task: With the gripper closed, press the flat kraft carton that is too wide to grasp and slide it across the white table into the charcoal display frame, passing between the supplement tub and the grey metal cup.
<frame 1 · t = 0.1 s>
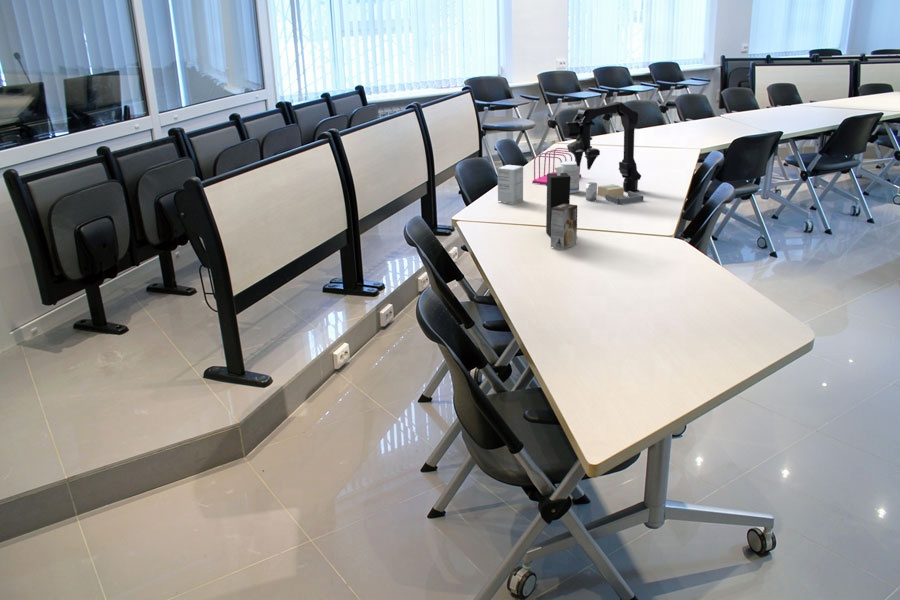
hand: (583, 167, 350), 15 cm above the table, tool pointing down, fingers open, 9 cm apart
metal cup: (591, 199, 350), on the table
display frame: (624, 200, 348), on the table
supplement tub: (569, 192, 368), on the table
tall black pillar: (557, 235, 298), on the table
supplement box: (510, 201, 353), on the table
file sorter: (557, 181, 393), on the table
coffee box: (563, 246, 283), on the table
carton: (610, 196, 358), on the table
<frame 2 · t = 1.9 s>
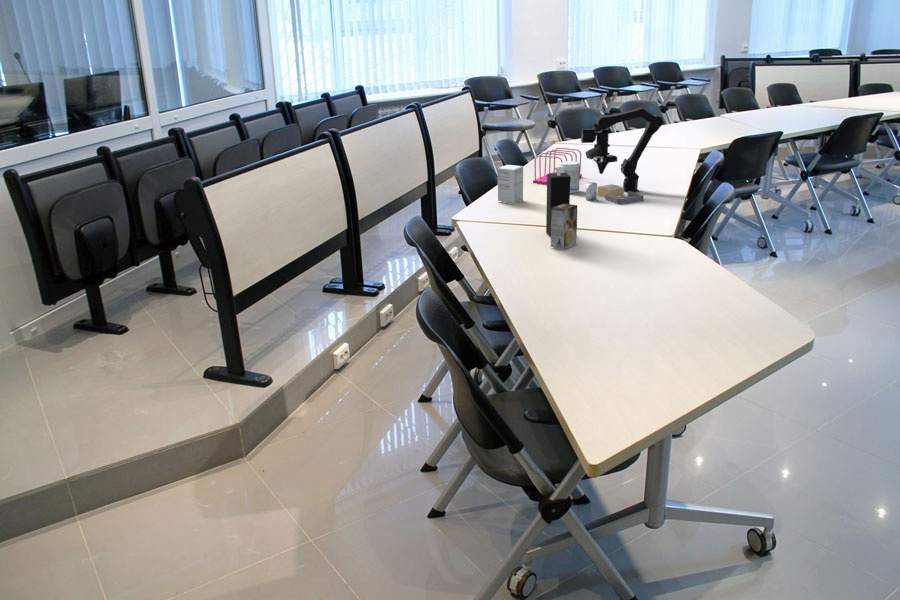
hand: (601, 173, 362), 9 cm above the table, tool pointing down, fingers closed
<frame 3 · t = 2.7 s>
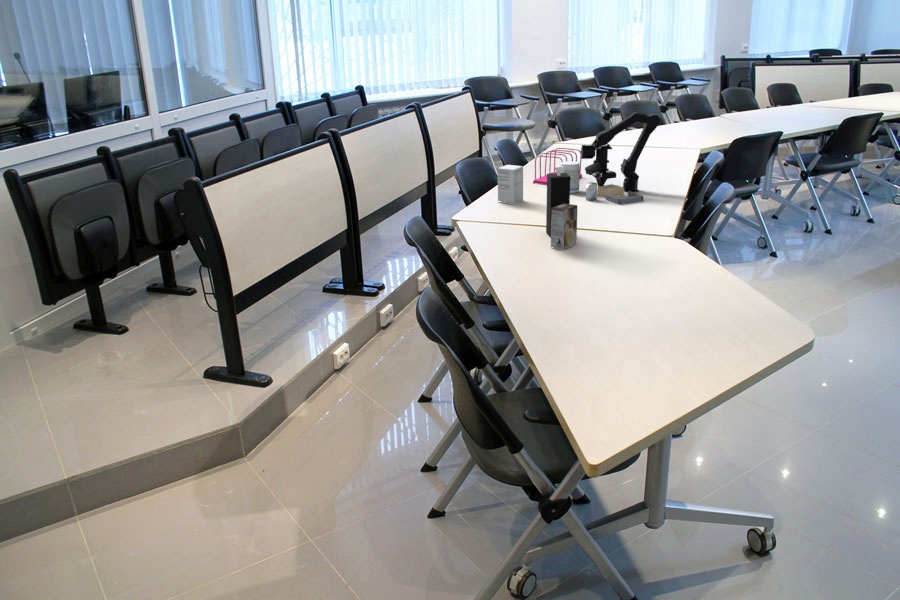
hand: (600, 189, 365), 1 cm above the table, tool pointing down, fingers closed
nothing on the table moved.
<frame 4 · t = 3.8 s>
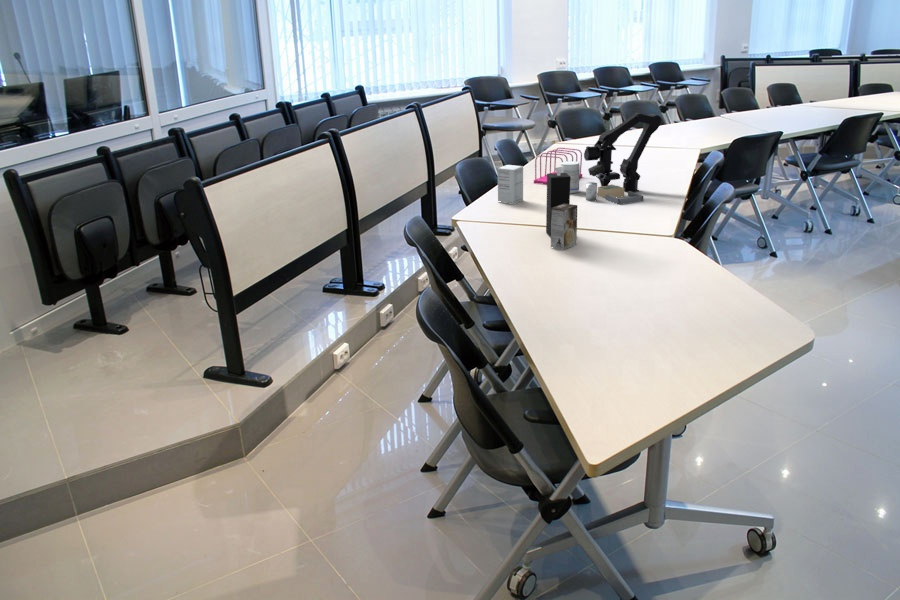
hand: (603, 190, 362), 1 cm above the table, tool pointing down, fingers closed
nothing on the table moved.
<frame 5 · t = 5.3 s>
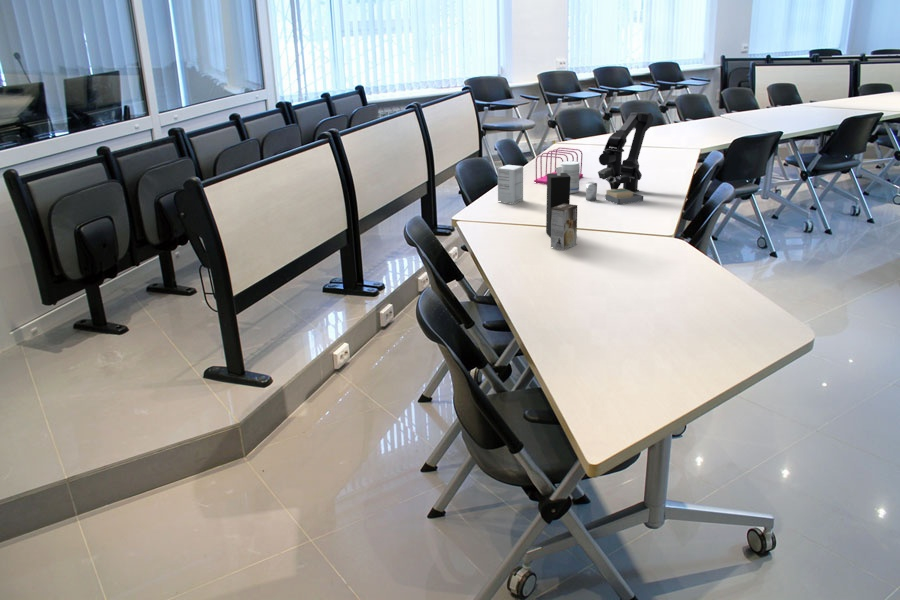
hand: (613, 193, 355), 1 cm above the table, tool pointing down, fingers closed
carton: (619, 200, 349), on the table, touching gripper
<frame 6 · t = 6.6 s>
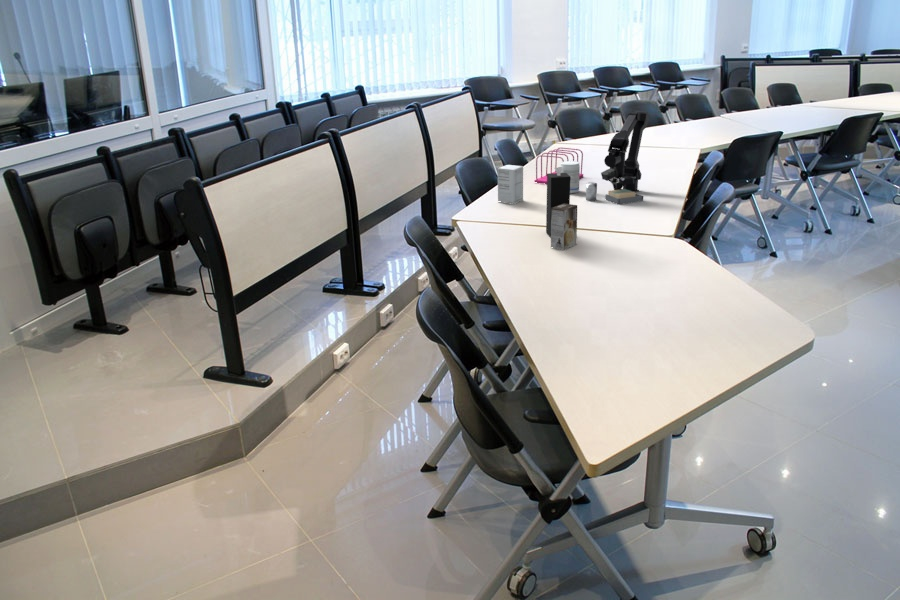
hand: (616, 195, 353), 1 cm above the table, tool pointing down, fingers closed
carton: (621, 201, 347), on the table, touching gripper
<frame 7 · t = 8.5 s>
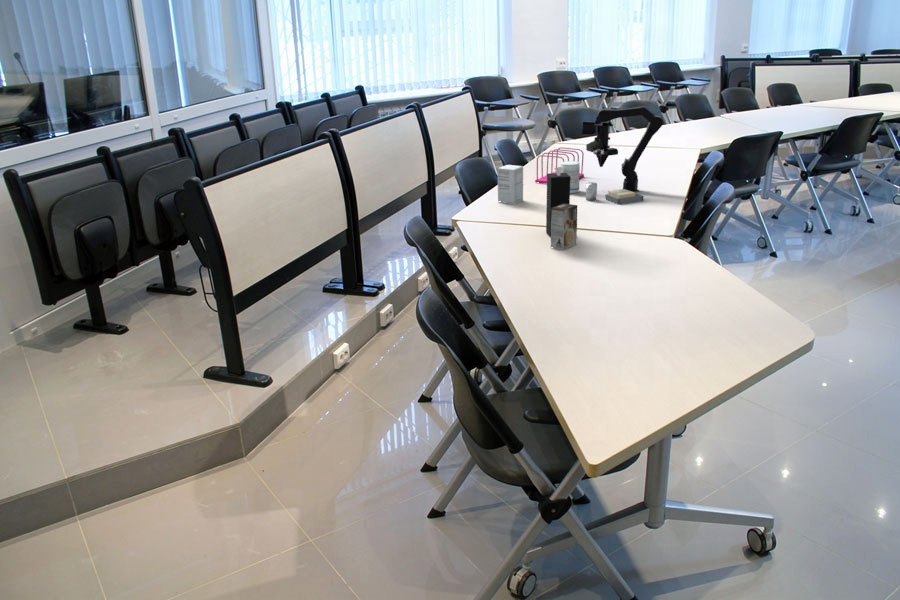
hand: (601, 166, 363), 12 cm above the table, tool pointing down, fingers closed
carton: (621, 201, 347), on the table
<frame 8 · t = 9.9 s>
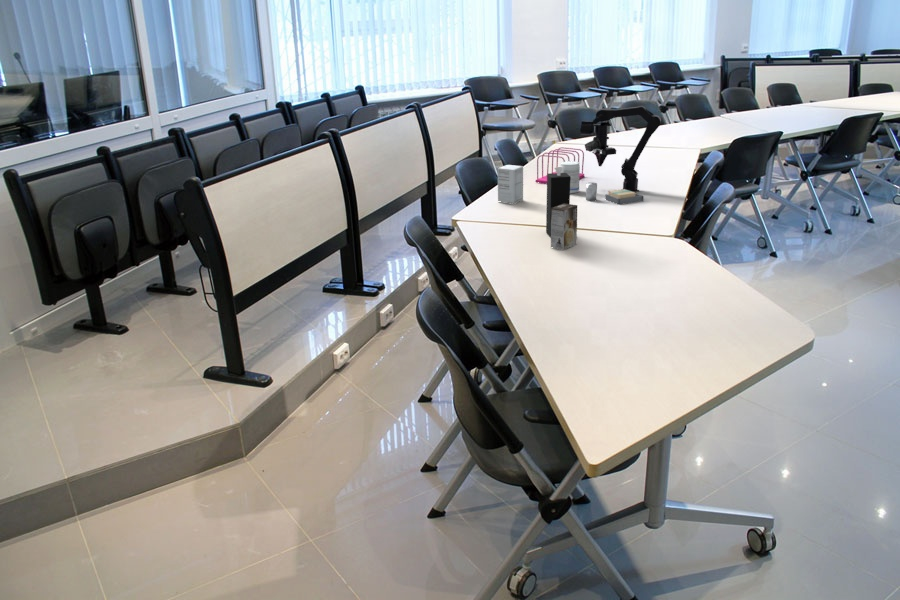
hand: (600, 166, 365), 12 cm above the table, tool pointing down, fingers closed
at the end: carton 1.4 cm from the target spot, on the table; carton tilted 0° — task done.
